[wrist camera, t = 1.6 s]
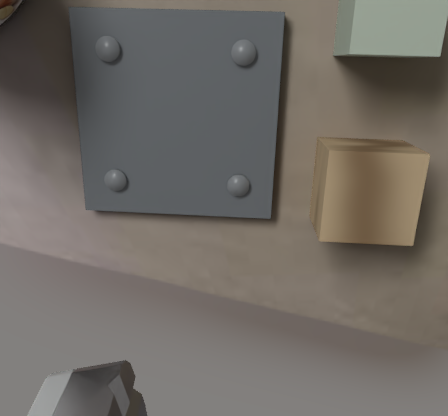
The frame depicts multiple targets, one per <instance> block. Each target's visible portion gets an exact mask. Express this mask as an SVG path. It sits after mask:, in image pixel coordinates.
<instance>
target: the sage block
mask: <svg viewBox="0 0 448 416" xmlns="http://www.w3.org/2000/svg"><path fill="white" fill-rule="evenodd" d="M447 17H448V0H339V5H338V15H337V24H336V34H335V43H334V52H333V56H359V57H395V58H419V57H440V55H441V50H442V44H443V39H444V34H445V28H446V23H447Z"/></svg>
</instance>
